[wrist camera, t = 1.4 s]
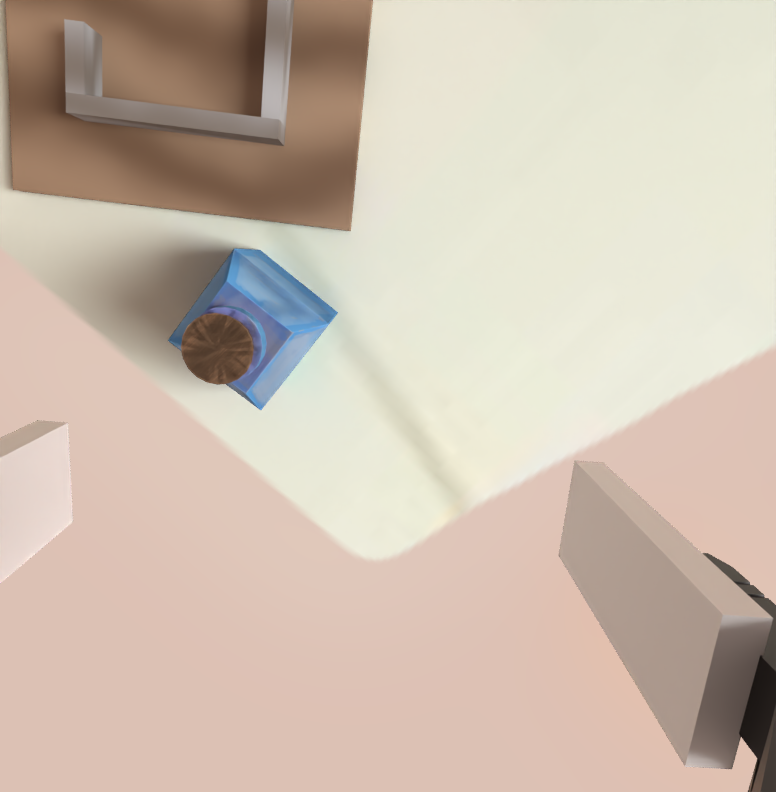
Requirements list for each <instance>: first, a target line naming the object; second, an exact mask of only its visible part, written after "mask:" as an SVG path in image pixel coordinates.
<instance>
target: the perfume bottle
mask: <svg viewBox="0 0 776 792" xmlns="http://www.w3.org/2000/svg"><path fill="white" fill-rule="evenodd" d="M337 313H338V312H336V311H335V310H334V309H333V308H332V307H330V306H329V305H328V304H327V303H325V302H324V301H323V300H322V299H320V298H319V297H318V296H317V295H315V294H314V293H313V292H312V291H310V290H309V289H308V288H307V287H305V286H304V285H303V284H302V283H300V282H299V281H298V280H297V279H295V278H294V277H293V276H292V275H290V274H289V273H288V272H287V271H285V270H284V269H283V268H282V267H280V266H279V265H278V264H277V263H275V262H274V261H273V260H272V259H270V258H269V257H268V256H267V255H265V254H264V253H263V252H262V251H261V250H251V249H234V250H233V251H232V253H231V254H230V255H229V257H228V258H227V260H226V261H225V262H224V264H223V265H222V266H221V268H220V269H219V271H218V272H217V273H216V275H215V276H214V278H213V279H212V280H211V282H210V283H209V284H208V286H207V287H206V289H205V290H204V291H203V293H202V294H201V295H200V297H199V298H198V300H197V301H196V302H195V304H194V305H193V306H192V308H191V309H190V311H189V312H188V313H187V315H186V316H185V317H184V319H183V320H182V322H181V323H180V324H179V326H178V327H177V329H176V330H175V331H174V333H173V334H172V335H171V337H170V338H169V340H168V341H169V342H170V343H172V344H173V345H174V346H176V347H177V348H178V349H180V350H181V351H182V356H183V359H184V361H185V363H186V365H187V367H188V369H189V370H190V371H191V372H192V373H193V374H194V375H195V376H196V377H198V378H200V379H202V380H204V381H205V382H208V383H213V384H226V385H228V386H229V387H230V388H232V389H233V390H234V391H236V392H237V393H238V394H240V395H241V396H242V397H244V398H245V399H246V400H248V401H249V402H250V403H252V404H253V405H254V406H256V407H257V408H258V409H260V410H262V408H263V407H264V406H265V405H266V403H267V402H268V401H269V400H270V398H271V397H272V396H273V395H274V393H275V392H276V391H277V390H278V388H279V387H280V386H281V385H282V383H283V382H284V381H285V379H286V378H287V377H288V376H289V374H290V373H291V372H292V371H293V369H294V368H295V367H296V366H297V364H298V363H299V362H300V360H301V359H302V358H303V357H304V355H305V354H306V353H307V352H308V350H309V349H310V348H311V346H312V345H313V344H314V343H315V341H316V340H317V339H318V338H319V336H320V335H321V334H322V332H323V331H324V330H325V329H326V327H327V326H328V325H329V324H330V322H331V321H332V320H333V318H334V317H335V316H336V315H337Z"/></svg>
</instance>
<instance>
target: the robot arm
mask: <svg viewBox="0 0 776 792" xmlns="http://www.w3.org/2000/svg"><path fill="white" fill-rule="evenodd" d="M69 455H70V454H69V435H68V423H64V422H51V421H38V420H37V421H35V422H33V423H31V424H29V425H27V426H25V427H23V428H20V429H18V430H16V431H14V432H12V433H10V434H7V435H5V436H3V437H1V438H0V583H1V582H2V581H4V580H5V579H6V578H7V577H8V576H10V575H11V574H12V573H13V572H14V571H16V570H17V569H18V568H19V567H20V566H21V565H23V564H24V563H25V562H26V561H27V560H29V559H30V558H31V557H32V556H33V555H34V554H36V553H37V552H38V551H39V550H40V549H41V548H43V547H44V546H45V545H46V544H47V543H49V542H50V541H51V540H52V539H53V538H54V537H55V536H57V535H58V534H59V533H60V532H61V531H63V530H64V529H65V528H66V527H67V526H69V525H70V524H71V523H72V522H73V512H72V495H71V494H72V493H71V473H70V456H69ZM559 557H560V558H561V560H562V562H563V563H564V565H565V567H566V568H567V570H568V572H569V574H570V575H571V577H572V578H573V580H574V582H575V584H576V585H577V587H578V588H579V590H580V592H581V594H582V595H583V597H584V598H585V600H586V602H587V604H588V605H589V607H590V608H591V610H592V612H593V613H594V615H595V617H596V619H597V620H598V622H599V623H600V625H601V627H602V629H603V630H604V632H605V634H606V635H607V637H608V639H609V640H610V642H611V644H612V645H613V647H614V649H615V650H616V652H617V654H618V655H619V657H620V659H621V660H622V662H623V664H624V665H625V667H626V669H627V670H628V672H629V674H630V675H631V677H632V679H633V680H634V682H635V684H636V685H637V687H638V689H639V690H640V692H641V694H642V695H643V697H644V699H645V700H646V702H647V704H648V705H649V707H650V709H651V710H652V712H653V714H654V715H655V717H656V719H657V720H658V722H659V724H660V725H661V727H662V729H663V730H664V732H665V734H666V736H667V737H668V739H669V741H670V742H671V744H672V745H673V747H674V749H675V751H676V752H677V754H678V756H679V757H680V759H681V761H682V762H683V764H684V766H686V767H703V768H704V767H705V768H721V769H732V767H733V763H734V760H735V756H736V752H737V748H738V745H739V741H740V738H741V737H742V738H743V740H744V741H745V742H746V744H747V745H748V746H749V748H750V749H751V750H752V752H753V753H754V754H755V756H756V757H757V762H756V765H755V769H754V772H753V776H752V780H751V783H750V786H749V790H748V792H776V605H775V604H774V603H773V602H772V601H771V600H769V599H768V598H765V597H764V594H763V593H761V592H760V591H759V590H758V589H757V588H756V587H755V586H753V585H750V582H749V581H748V580H747V579H745V578H744V577H743V576H742V575H741V574H740V573H739V572H737V571H736V570H735V569H734V568H733V567H731V566H729V565H728V564H726V563H724V562H722V561H721V560H719V559H717V558H715V557H713V556H712V555H710V554H708V553H701V552H700V551H699V550H698V549H697V548H696V547H695V546H694V545H693V544H692V543H690V542H689V541H688V540H687V539H686V538H685V537H684V536H683V535H682V534H681V533H679V531H677V530H676V529H675V528H674V527H673V526H672V525H671V524H670V523H669V522H668V521H666V520H665V519H664V518H663V517H662V516H661V515H660V514H659V513H658V512H657V511H656V510H654V509H653V508H652V507H651V506H650V505H649V504H648V503H647V502H646V501H645V500H644V499H642V498H641V497H640V496H639V495H638V494H637V493H636V492H635V491H634V490H633V489H632V488H630V487H629V486H628V485H627V484H626V483H625V482H624V481H623V480H622V479H621V478H620V477H618V476H617V475H616V474H615V473H614V472H613V471H612V470H611V469H610V468H609V467H608V466H606V465H605V464H604V463H601V462H587V461H574V468H573V473H572V479H571V485H570V491H569V497H568V503H567V508H566V514H565V520H564V526H563V533H562V538H561V544H560V550H559Z"/></svg>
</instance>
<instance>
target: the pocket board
mask: <svg viewBox="0 0 776 792" xmlns="http://www.w3.org/2000/svg"><path fill="white" fill-rule="evenodd" d="M372 5H373V0H6V23H7V49H8V75H9V100H10V126H11V152H12V178H13V190H19V191H25V192H33V193H41V194H49V195H58V196H66V197H74V198H82V199H91V200H99V201H107V202H115V203H124V204H132V205H140V206H148V207H157V208H165V209H173V210H181V211H190V212H198V213H206V214H214V215H223V216H231V217H239V218H247V219H256V220H264V221H272V222H280V223H289V224H297V225H305V226H313V227H322V228H330V229H338V230H347V231H351V222H352V211H353V201H354V191H355V180H356V170H357V160H358V149H359V139H360V129H361V118H362V108H363V98H364V87H365V77H366V67H367V56H368V46H369V36H370V25H371V15H372Z"/></svg>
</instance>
